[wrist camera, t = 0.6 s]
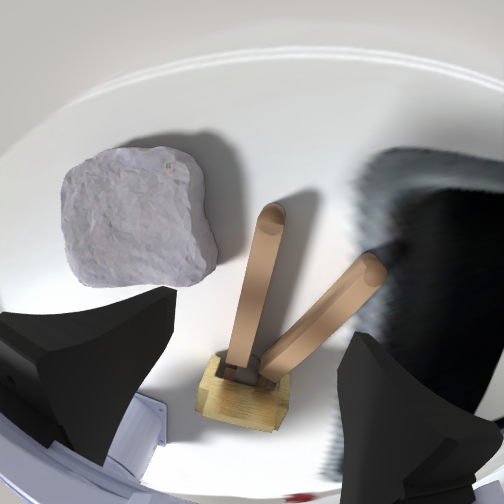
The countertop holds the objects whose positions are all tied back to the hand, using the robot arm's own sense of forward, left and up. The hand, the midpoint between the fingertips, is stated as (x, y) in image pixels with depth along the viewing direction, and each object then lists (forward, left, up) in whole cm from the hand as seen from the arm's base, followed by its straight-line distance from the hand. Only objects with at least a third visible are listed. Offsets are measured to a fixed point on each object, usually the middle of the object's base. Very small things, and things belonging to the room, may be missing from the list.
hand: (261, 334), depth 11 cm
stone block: (+1, +11, -10) cm, 15 cm away
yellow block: (-11, 0, -9) cm, 15 cm away
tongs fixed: (-6, 0, -10) cm, 11 cm away
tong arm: (-3, -4, -9) cm, 11 cm away
